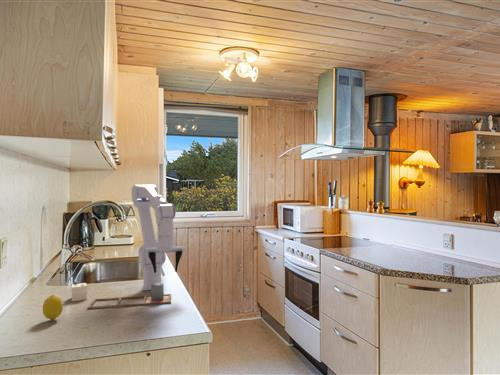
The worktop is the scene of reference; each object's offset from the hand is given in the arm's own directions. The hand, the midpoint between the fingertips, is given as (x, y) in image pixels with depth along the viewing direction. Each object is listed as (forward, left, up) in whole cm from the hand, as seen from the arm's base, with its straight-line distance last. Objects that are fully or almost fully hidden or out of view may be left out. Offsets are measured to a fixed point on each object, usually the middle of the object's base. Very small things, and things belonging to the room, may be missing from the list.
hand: (165, 271), depth 140 cm
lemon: (+18, -34, -10) cm, 40 cm away
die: (-5, -32, -9) cm, 34 cm away
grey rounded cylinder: (+4, -3, -9) cm, 10 cm away
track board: (+4, -12, -9) cm, 16 cm away
